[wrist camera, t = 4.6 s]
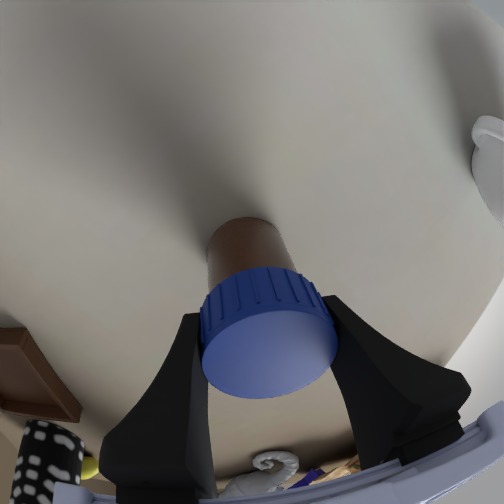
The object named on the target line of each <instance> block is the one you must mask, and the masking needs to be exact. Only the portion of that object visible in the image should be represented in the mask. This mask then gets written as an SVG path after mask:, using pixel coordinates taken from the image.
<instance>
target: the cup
mask: <svg viewBox="0 0 504 504" xmlns="http://www.w3.org/2000/svg"><path fill="white" fill-rule="evenodd" d="M471 136H472V139H473V141H474V143H475V144H476V146H475V148H474V151H473V155H472V163H471V167H472V174H473V177H474V180H475V183H476V185H477V188H478V191H479V193H480V195H481V197H482V199H483V201H484V203H485V204H486V206H487V208H488V209H489V211H490V212H491V214H492V215H493V216H494V218H495V219H496V220H497V221H498V222H499V224H500V225H501V226H502V227H503V228H504V121H503V120H501V119H499V118H496V117H493V116H488V115H485V116H481V117H479V118H478V119H477V120H476V122H475V124H474V126H473V128H472V132H471Z"/></svg>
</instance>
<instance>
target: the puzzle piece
mask: <svg viewBox="0 0 504 504" xmlns="http://www.w3.org/2000/svg"><path fill="white" fill-rule="evenodd" d="M323 474H325V472H324V471H323V470H321V469H318V470H317V471H315V470H314V469H313V468H312V469H311V470H310V471H309V472H308V473H307V475H306V476H305V477H304V478H303V479H302V480H300V481H299V482H297V483H295V484H294V485H293V486H291V487H290V488H288V489H293V488H298V487H303V486H307V485H309V484H310V483H311V482H312V481H314V480H315V479H316V478H318V477H319V476H321V475H323ZM288 489H286V490H288Z"/></svg>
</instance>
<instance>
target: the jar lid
mask: <svg viewBox="0 0 504 504" xmlns="http://www.w3.org/2000/svg"><path fill="white" fill-rule="evenodd" d="M333 325H335V324H334V322H333V320H332V318H331V316H330V314H329V312H328V310H327V308H326V306H325V303H324V301H323V299H322V297H321V295H320V293H319V292H317V290H316V288H315V286H314V284H313V283H312V282H309V281H308V280H307V279H306V278H305V277H303V276H302V274H298V273H296V272H294V271H291V270H288V269H287V268H279V267H257V268H251V269H247V270H244V271H241V272H238V273H236V274H233V275H232V276H230V277H228V278H226V279H225V280H223V281H222V282H220V283H218V284H217V286H216V287H215V288H214V289H213V290H212V291H211V292H210V293H209V295H208V294H207V296H206V299H205V301H204V303H203V306H202V307H200V341H201V365H202V370H203V373H204V375H205V377H206V378H207V380H208V381H209V382H210V383H211V384H212V385H213V386H214V387H215V388H217V389H218V390H220V391H222V392H224V393H226V394H229V395H232V396H236V397H241V398H249V399H264V398H272V397H277V396H282V395H285V394H289V393H291V392H294V391H297V390H299V389H301V388H303V387H305V386H307V385H309V384H310V383H312V382H313V381H315V380H316V379H317V378H319V377H320V376H321V375H322V374H323V373H324V372H325V371H326V370H327V369H328V368H329V366H330V365H331V364H332V362H333V360H334V358H335V356H336V353H337V350H338V337H337V334H336V331H335V329H334V327H333Z"/></svg>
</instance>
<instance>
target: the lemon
mask: <svg viewBox="0 0 504 504" xmlns="http://www.w3.org/2000/svg"><path fill="white" fill-rule="evenodd" d="M98 466H99V463H98V461H97V460H96V459H95V458H93V457H85V456H83V463H82V471H81V479H89V478H91V477H93V476H94V475H96V474H97V473H98V472H99V469H98Z"/></svg>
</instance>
